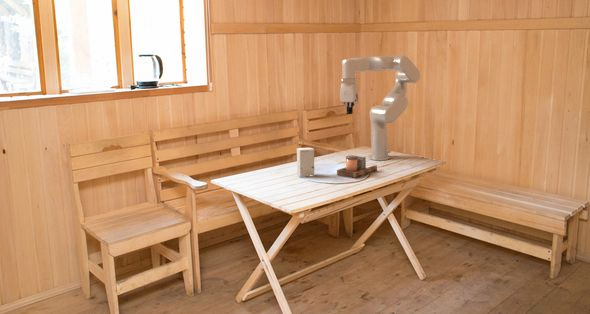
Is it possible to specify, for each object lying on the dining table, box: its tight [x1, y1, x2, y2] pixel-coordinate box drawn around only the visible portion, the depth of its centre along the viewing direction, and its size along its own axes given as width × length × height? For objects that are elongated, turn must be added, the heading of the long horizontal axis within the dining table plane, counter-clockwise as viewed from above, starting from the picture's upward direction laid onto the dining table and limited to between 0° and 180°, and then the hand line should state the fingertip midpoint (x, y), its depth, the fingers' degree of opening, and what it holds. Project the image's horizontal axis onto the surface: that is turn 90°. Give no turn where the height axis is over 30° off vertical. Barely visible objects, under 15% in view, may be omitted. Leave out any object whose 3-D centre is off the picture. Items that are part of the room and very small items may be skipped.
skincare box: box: [296, 147, 315, 178], centre depth 300 cm, size 8×6×15 cm
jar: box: [345, 154, 359, 172], centre depth 297 cm, size 6×6×9 cm
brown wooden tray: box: [336, 164, 378, 179], centre depth 302 cm, size 20×12×3 cm, turn 138°
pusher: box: [357, 155, 367, 171], centre depth 302 cm, size 6×8×7 cm
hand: (349, 113), depth 318 cm, fingers closed
